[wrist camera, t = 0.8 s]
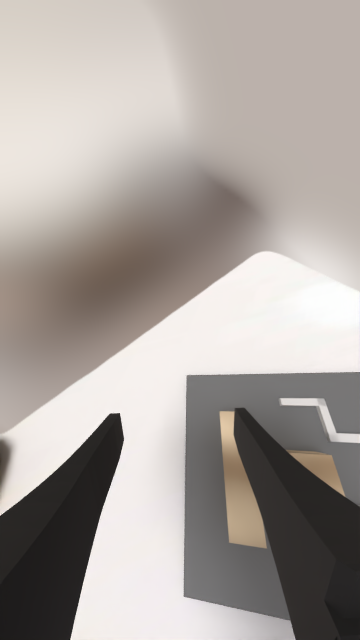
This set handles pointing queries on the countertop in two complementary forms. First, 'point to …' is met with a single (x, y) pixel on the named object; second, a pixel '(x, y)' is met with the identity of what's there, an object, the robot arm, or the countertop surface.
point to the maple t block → (240, 496)
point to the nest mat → (209, 484)
